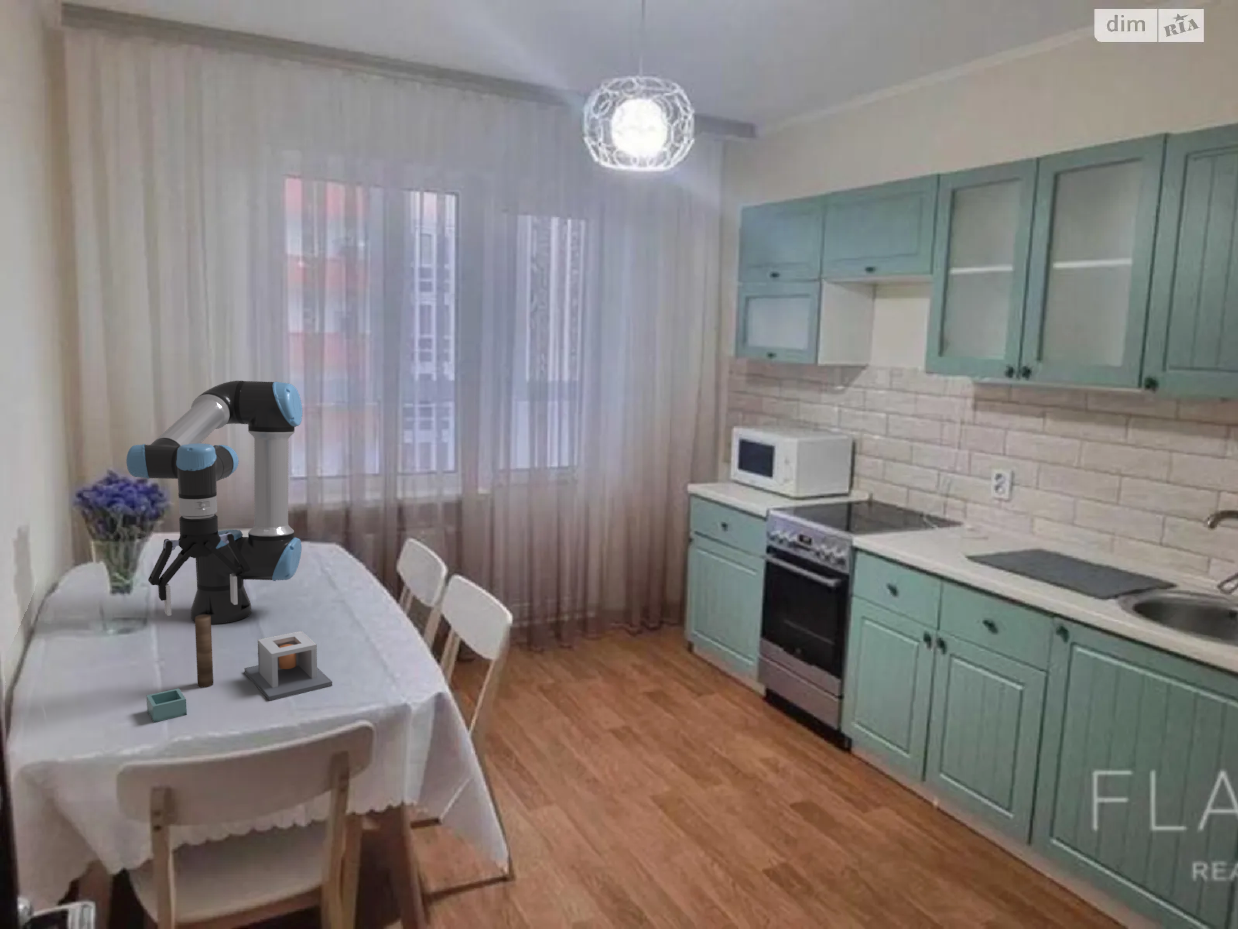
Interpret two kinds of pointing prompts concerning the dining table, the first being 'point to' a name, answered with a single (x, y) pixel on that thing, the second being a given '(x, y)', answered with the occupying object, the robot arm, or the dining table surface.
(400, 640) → the dining table surface
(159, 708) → the box
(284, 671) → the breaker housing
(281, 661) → the button
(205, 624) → the brown wooden rod
